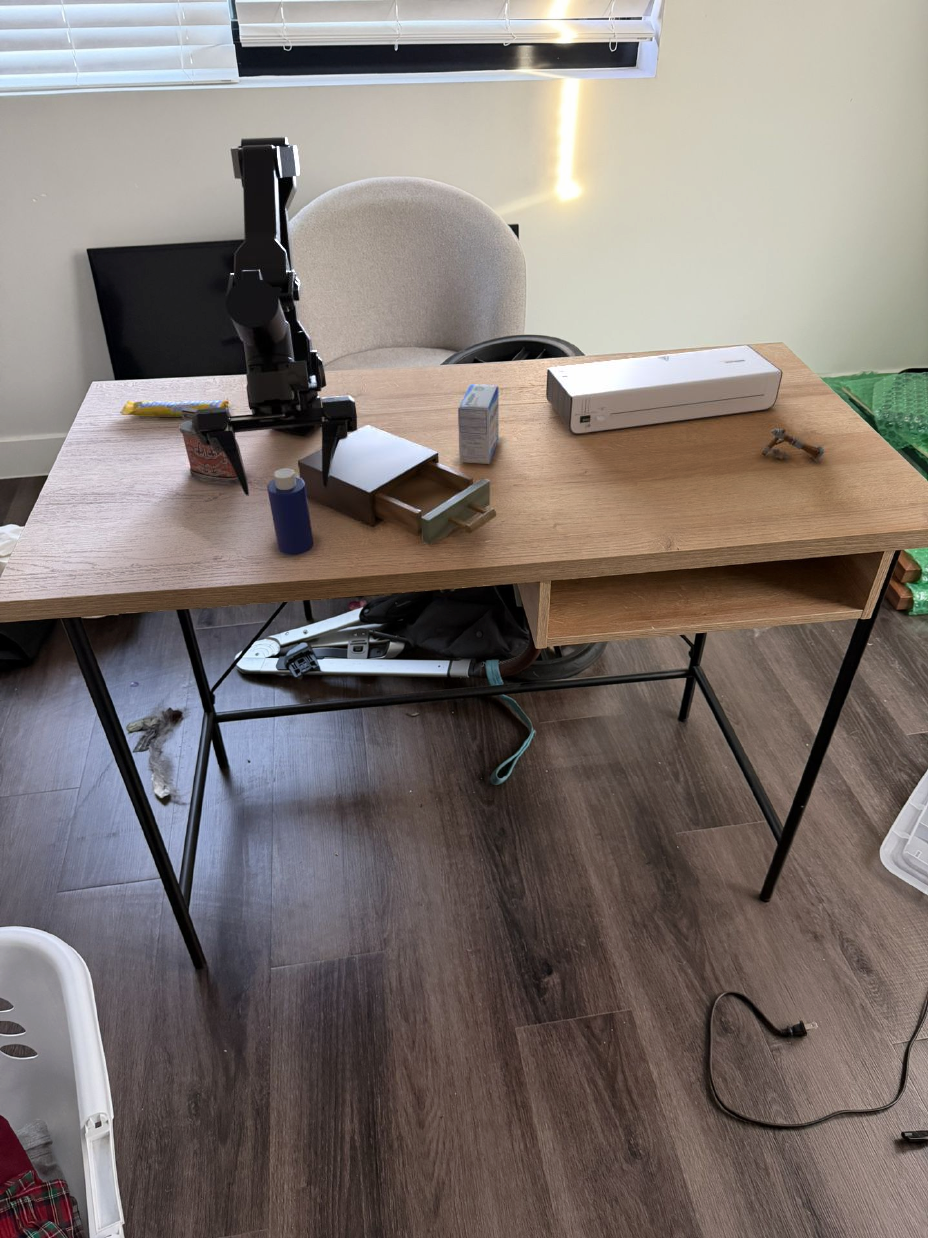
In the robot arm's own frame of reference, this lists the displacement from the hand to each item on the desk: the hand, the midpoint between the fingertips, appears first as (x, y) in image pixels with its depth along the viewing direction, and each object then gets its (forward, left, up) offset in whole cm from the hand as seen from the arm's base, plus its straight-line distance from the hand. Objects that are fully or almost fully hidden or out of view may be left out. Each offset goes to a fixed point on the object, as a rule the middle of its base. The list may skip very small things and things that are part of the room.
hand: (286, 490), depth 102 cm
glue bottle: (0, 0, -8) cm, 8 cm away
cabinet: (+2, +15, -8) cm, 18 cm away
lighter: (-20, +10, -8) cm, 24 cm away
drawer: (+13, +13, -7) cm, 20 cm away
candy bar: (-38, +24, -8) cm, 46 cm away
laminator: (+32, +55, -8) cm, 64 cm away
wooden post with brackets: (+53, +46, -8) cm, 71 cm away
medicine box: (+11, +31, -8) cm, 34 cm away
